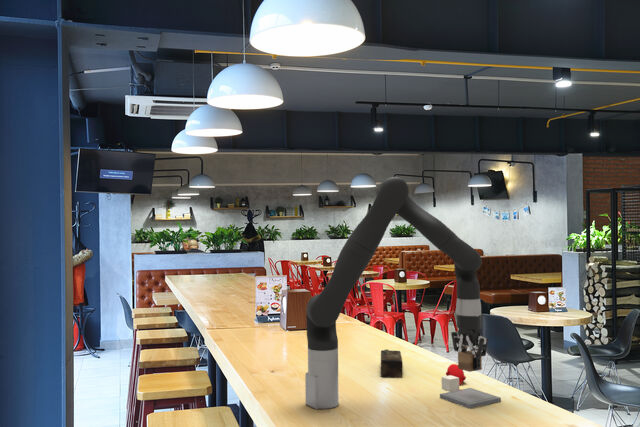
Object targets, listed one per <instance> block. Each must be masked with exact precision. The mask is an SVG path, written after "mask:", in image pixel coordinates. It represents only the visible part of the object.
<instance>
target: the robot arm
mask: <svg viewBox="0 0 640 427" xmlns="http://www.w3.org/2000/svg"><path fill="white" fill-rule="evenodd" d="M375 191H376V192H375V193H376V195H375V199H374V201H373V203H372V205H371V206H370V209H369V210H368V212H367V214H366V215H365V216H364V217H363V218H362V220H361V221H360V222H359V223H358V224H357V226H356V227H355V228H354V229H353V231H352V233H351V234H350V235H349V237H348V238H347V240H346V242H345V243H344V245H343V247H342V249H341V250H340V252H339V254H338V257H337V259H336V262H335V265H334V268H333V270H332V271H333V272H332V274H331V276H330V278H329V280H328V282H327V283H326V284H325V286H324V287H323V289H322V291H321V292H320V293H318V294H315V295H313V296H312V297H311V298H310V299H308V302H307V304H306V310H305V312H306V313H305V314H306V315H305V318H306V325H305V326H306V339H307V372H305V374H304V375H305V376H304V377H305V378H304V380H305V405H307V406H309V407H311V409H312V408H313V409H314V410H318V409H331V408H332V409H333V408H335V407H337V406H339V405H340V404H339V402H340V401H339V399H340V398H339V340H338V339H339V338H338V333H337V320H338V319H339V317H340V315H341V312H342V310H343V308H344V305H345V303H346V301H347V299H348V297H349V296H350V293H351V291H352V289H353V288H354V286H355V285H356V284H357V282H358V281H359V279H360V278H361V276H362V274H363V272H364V271H365V270H366V268H367V266H368V265H369V263H370V262H371V260H372V258H373V257H374V256H375V253H376V251H377V250H378V247H379V246H380V244H381V242H382V239H383V237H384V235H385V234H386V231H387V229H388V227H389V225H390V223H391V222H392V220H393V219H394V218H395V216H396V215H397V216H399V217H401V218H402V219H403V220H404V221H406V222H407V223H409V224H410V225H411V226H412V227H413V228H414V229H415V230H417V231H418V233H420V234H421V235H422V236H423V237H424V238H425V239H426V240H427V241H429V242H430V244H432V245H433V246H434V247H435V248H437V249H438V250H439V251H440V252H441V253H443V254H445V255H446V256H448V257H449V258H450V259H451V260H452V261H453V264H454V274H455V278H456V280H455V281H456V305H455V306H456V308H455V310H456V311H455V312H456V314H455V315H456V328H457V329H458V330H457V331H451V335H450V336H451V339H452V340H451V341H452V345H453V346H452V347H453V350H454V352H457V353H458V352H464V351H468V348H469V351H472V354H473V357H474V358H473V370H477V371H480V370H479V369H480V358H481V357H486V355H487V351H488V350H487V349H488V344H489V338H488V337H484V336H482V335H481V332H480V331H481V329H482V303H481V289H480V288H481V287H480V282H479V280H478V277H477V276H478V275H477V270H479V269H480V268H481V265H482V262H483V261H482V257H481V254H480V253H479V252H478V251H477V250H476V249H475V248H473V246H471V245H469V243H467V242H465V241H464V240H463V239H461V238H460V237H459V236H458V235H457V234H456V233H455V231H452V230H451V229H450V228H449V227H448V226H447V225H446V224H445V223H443V222H442V221H441V220H439V219H438V218H437V217H436V216H434V215H432V214H431V213H429V212H428V211H426V210H425V209H424V208H422V207H421V206H419V205H418V204H417V203H416V202H415V201H414V200H413V199H412V198H411V197H410V196H409V191H410V190H409V185H408V183H407V182H406V180H404V179H403V178H401V177H399V176H392V177H391V176H390V177H387V178H385V179H384V180H383V181H382V182H380V183H379V184H378V186H377V188H376V190H375ZM476 352H477V353H476Z"/></svg>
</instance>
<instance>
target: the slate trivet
mask: <svg viewBox="0 0 640 427" xmlns="http://www.w3.org/2000/svg"><path fill="white" fill-rule="evenodd" d="M439 399H442V400H444V401H445V400H446V401H447V400H448V401H447V402H449V403H453V402H454V404H455V405H458V404H459V405H458V406H461V405H462V407H464V408H467V409H469V408H470V409H474V407H475V408H478V407H483V405H484V406H487V405H492V404H496V403H500V402H502V397H500V396H497V395H493V394H490V393H488V392H484V391H482V390H478V389H475V388H473V387H469V388H468V387H467V388H463V389H459V390H456V391H451V392H450V391H447V392H443V393H440V394H439Z"/></svg>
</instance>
